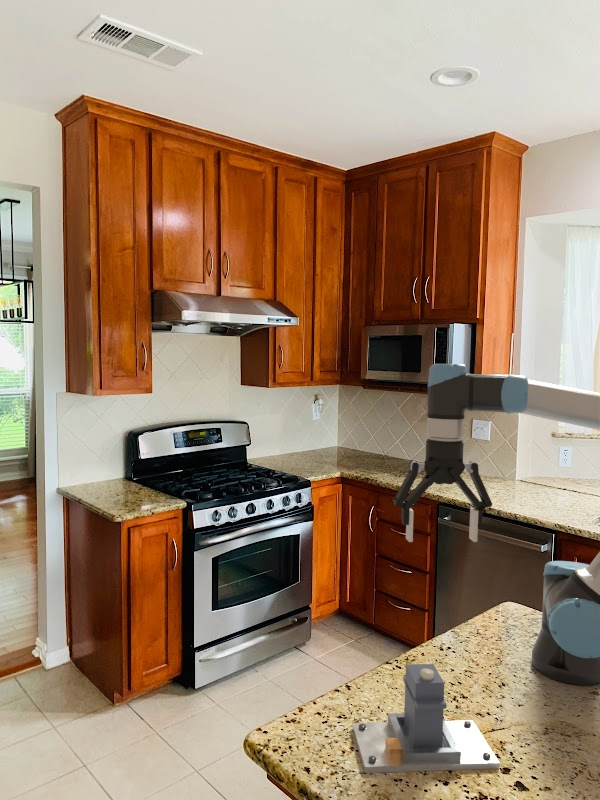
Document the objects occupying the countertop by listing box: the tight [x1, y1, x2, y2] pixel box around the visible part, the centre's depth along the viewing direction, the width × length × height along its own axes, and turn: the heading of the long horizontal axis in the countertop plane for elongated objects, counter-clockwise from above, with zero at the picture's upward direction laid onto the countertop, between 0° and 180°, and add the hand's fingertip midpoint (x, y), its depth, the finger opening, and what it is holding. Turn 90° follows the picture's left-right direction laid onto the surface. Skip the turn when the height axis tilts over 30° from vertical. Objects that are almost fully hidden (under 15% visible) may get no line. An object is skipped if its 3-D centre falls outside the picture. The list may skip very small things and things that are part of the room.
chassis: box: [351, 712, 500, 774], centre depth 106 cm, size 22×12×3 cm, turn 95°
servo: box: [402, 663, 448, 749], centre depth 105 cm, size 5×9×13 cm, turn 5°
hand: (441, 540), depth 129 cm, fingers open, 13 cm apart
